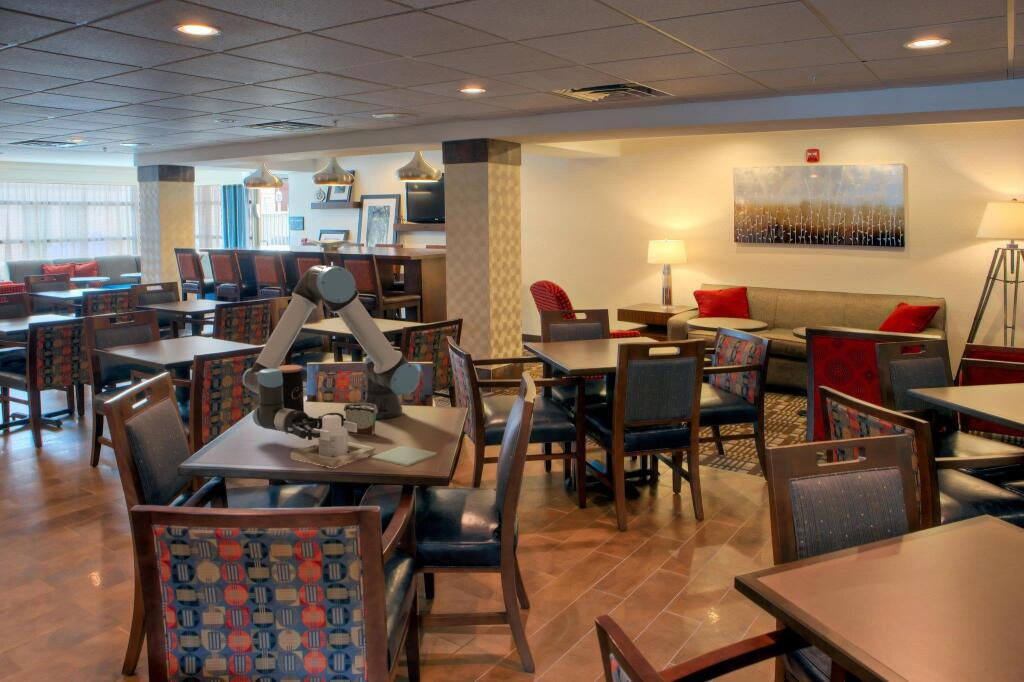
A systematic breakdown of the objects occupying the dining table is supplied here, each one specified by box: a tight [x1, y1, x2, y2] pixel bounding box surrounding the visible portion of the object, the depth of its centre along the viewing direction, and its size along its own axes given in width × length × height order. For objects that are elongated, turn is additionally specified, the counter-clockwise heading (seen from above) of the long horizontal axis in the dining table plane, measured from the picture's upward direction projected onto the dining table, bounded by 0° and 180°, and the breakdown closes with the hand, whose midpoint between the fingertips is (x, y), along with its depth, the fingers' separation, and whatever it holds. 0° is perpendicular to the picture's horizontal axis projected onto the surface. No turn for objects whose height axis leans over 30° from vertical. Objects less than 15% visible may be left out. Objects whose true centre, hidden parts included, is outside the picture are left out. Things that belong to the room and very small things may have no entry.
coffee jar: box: [278, 364, 305, 412], centre depth 283 cm, size 11×11×18 cm
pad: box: [371, 445, 438, 467], centre depth 234 cm, size 14×14×1 cm
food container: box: [343, 402, 378, 437], centre depth 260 cm, size 12×6×10 cm, turn 71°
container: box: [318, 412, 349, 458], centre depth 233 cm, size 8×8×13 cm
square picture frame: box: [290, 441, 377, 468], centre depth 233 cm, size 18×18×2 cm
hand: (342, 432), depth 230 cm, fingers closed on container, 10 cm apart
